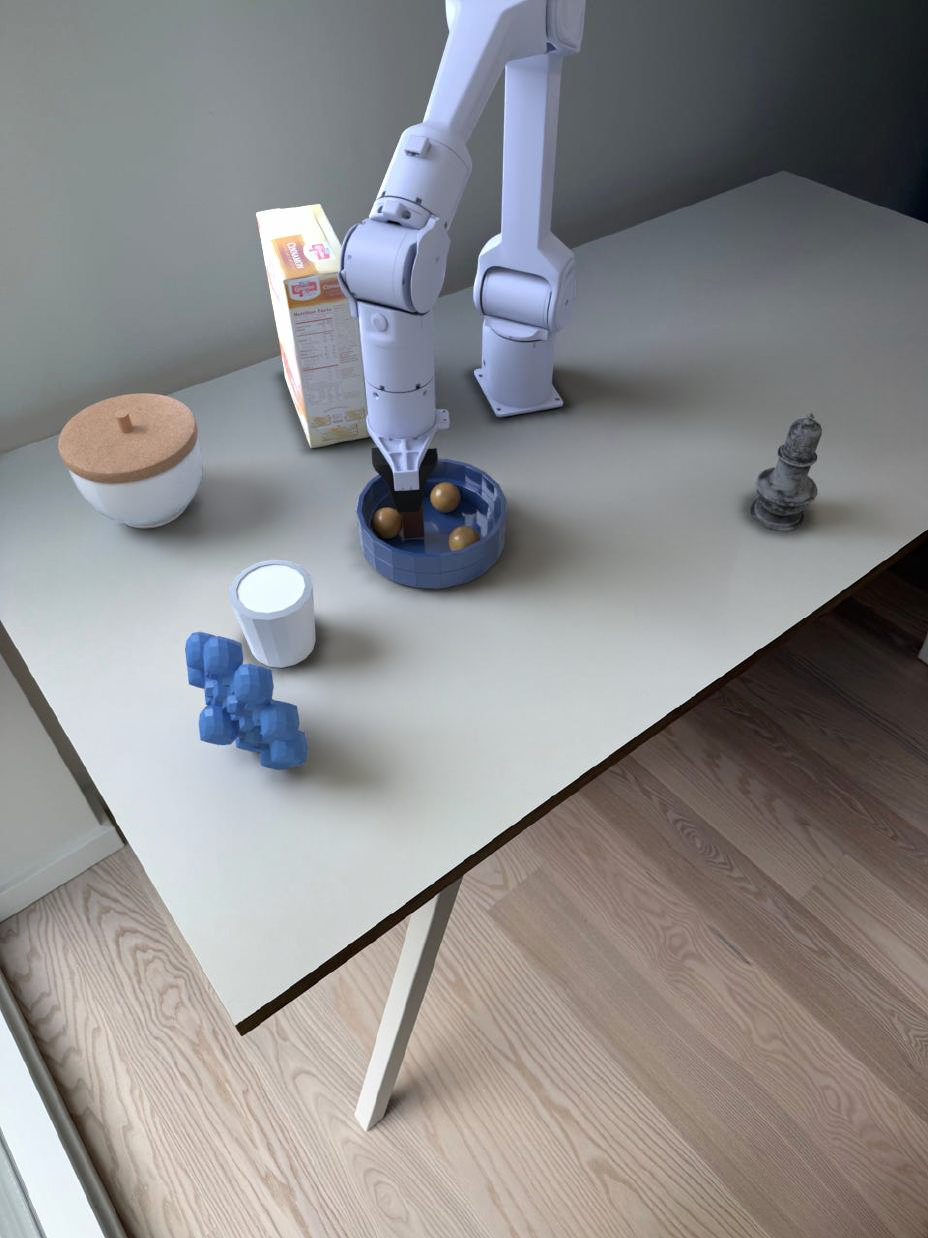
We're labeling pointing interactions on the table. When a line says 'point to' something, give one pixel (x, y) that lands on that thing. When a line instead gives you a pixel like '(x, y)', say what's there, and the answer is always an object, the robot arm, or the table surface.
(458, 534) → the bead
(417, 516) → the stick
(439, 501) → the bead
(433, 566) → the bowl
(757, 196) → the table surface
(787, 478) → the grey chess piece
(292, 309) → the coffeecake box
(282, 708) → the grapes
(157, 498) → the lidded bowl
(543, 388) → the robot arm
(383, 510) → the bead
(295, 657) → the white cylinder
